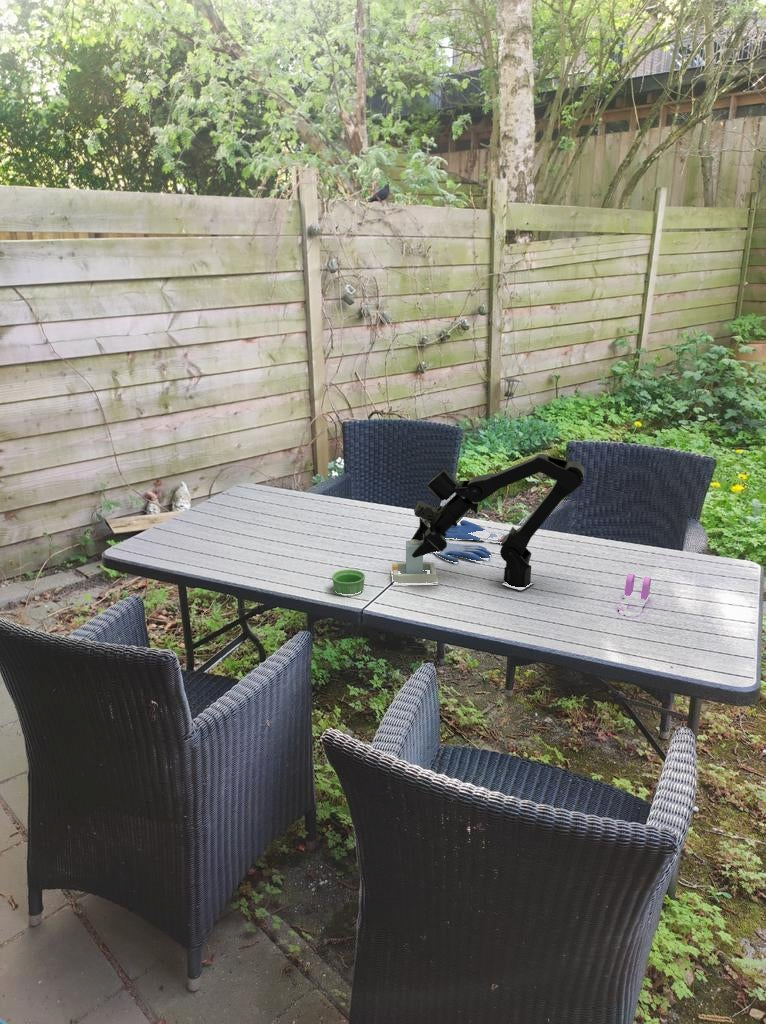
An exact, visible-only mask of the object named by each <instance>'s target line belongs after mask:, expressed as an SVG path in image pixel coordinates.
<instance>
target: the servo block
mask: <svg viewBox="0 0 766 1024" xmlns="http://www.w3.org/2000/svg"><path fill="white" fill-rule="evenodd" d="M421 542H422V541H419V540H416V539H413V540H405V562H406V571H400V573H401V574H427V571H423V562H424V555H422V556H419V557H416V558H414V557H413V556H412V554H413V552H414V551H415V550H416V549H417V547H418V546H419V545H420V544H421Z"/></svg>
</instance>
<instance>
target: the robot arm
mask: <svg viewBox="0 0 766 1024" xmlns="http://www.w3.org/2000/svg"><path fill="white" fill-rule="evenodd" d="M538 473H541V474H543V475H546V476H547V477H549V478H551V479H552V480H554V483H553V486H552V488H550V490H549V491H548V493H547V494H546V495H545V497H544V498H543V499H542V500H541V501H540V502H539V504H538V505H537V507H536V508H535V509H534V510H533V511H532V512H531V514H530V515H529V516H528V517H527V519H525V521H524V522H523V524H522V525H521V526H520V527H518V528H517V529H516V528H515V527H513V526H512V527H511V528H510V530H509V532H508V533H507V534H505V535H506V536H504V538H503V541H502V543H501V545H500V546H501V548H500V551H499V553H500V558H501V559H502V560H503V561H505V567H504V569H503V570H504V571H503V572H504V573H503V582H507V583H508V584H509V585H511V586H515V587H526V586H527V585H529V584H530V582H532V581H531V579H532V577H531V576H532V565H531V564H530V561H531V557H532V555H533V554H532V552H531V551H530V550H529V549H528V548H527V546H528V544H529V543H530V541H531V538H532V537H533V536H534V535H535V534H536V532H538V530H539V529H540V527H542V525H543V524H544V523H545V521H546V520H547V519H548V518H549V516H550V515H551V514H552V513H553V512H554V510H555V509H556V508H557V506H558V505H559V504H560V503H561V501H563V500H564V499H565V498H567V496H569V495H571V494H572V493H573V492H575V490H577V489H578V488H579V487H580V486H582V484H583V481H584V478H585V468H584V466H583V465H582V464H581V462H578V461H576V460H571V461H568V460H565V459H562V458H557V457H553V456H549V455H547V454H545V453H539V454H537V455H536V456H534V457H531V458H529V459H527V460H525V461H522V462H519V463H517V464H515V465H512V466H510V467H508V468H505V469H503V470H501V471H499V472H495V473H487V474H486V473H485V474H482V475H478V476H475V477H472V478H471V479H468V480H466V479H465V480H459V481H458V482H457V481H456V479H454V478H453V477H452V475H451V474H450V473H449V471H448V470H447V469H443V470H442V471H441V472H440V473H439V474H437V475H436V476H434V478H433V479H430V481H429V482H428V483H427V485H426V487H427V488H428V489H429V491H431V493H433V494H434V495H435V496H436V497H437V498H438V500H439V501H447V500H448V499H449V500H448V501H447V502H446V503H445V504H444V505H439V506H437V507H434V506H433V505H431V504H428V503H426V502H424V501H421V500H418V501H417V504H416V505H415V507H414V509H413V512H414V516H415V517H418V519H419V526H418V528H417V529H416V531H415V533H414V535H413V536H412V538H411V540H413V539H416V540H419V541H422V540H423V541H422V542H421V544H420V545H419V546H418V547H417V549H416V550H415V551H414V552H413V554H412V556H413V557H414V558H416V557H419V556H422V555H423V556H426V555H429V554H433V552H436V551H438V552H439V551H441V552H442V551H443V550H444V549H445V548H446V547H447V542H448V541H447V540H446V539H445V536H446V535H447V534H446V532H447V531H448V530H449V529H450V528H451V527H452V526H454V527H456V526H457V525H459V524H458V521H459V522H460V521H461V519H462V518H463V517H464V516H465V515H466V514H467V513H468V512H469V511H470V510H471V511H473V512H474V514H478V508H479V503H481V502H482V501H484V500H486V499H487V498H488V497H490V496H492V495H493V494H495V492H496V491H498V490H500V489H502V488H504V487H507V486H509V485H511V484H514V483H516V482H519V481H521V480H524V479H526V478H529V477H531V476H534V475H536V474H538ZM451 496H452V498H451Z"/></svg>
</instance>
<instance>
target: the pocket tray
mask: <svg viewBox="0 0 766 1024" xmlns="http://www.w3.org/2000/svg"><path fill="white" fill-rule="evenodd" d="M391 564H392V565H391V566H392V567H391V569H392V571H393V580H394V582H398V583H426V582H427V583H432V582H437V578H438V576H437V575H438V573H437V570H436V567H435V563H434V562H430V561H423V570H424V571H425V570H430V574H398V571H406V561H400V562H393V563H391Z"/></svg>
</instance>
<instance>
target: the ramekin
mask: <svg viewBox="0 0 766 1024" xmlns="http://www.w3.org/2000/svg"><path fill="white" fill-rule="evenodd" d="M331 580H332V584H333V591H334V590H335V591H336V592H337V593H342V594H355V593H358V592H360V591H362V590H363V591H364V589H363V588H364V585H365V580H366V575H365V573H364V572H363V571H360V570H357V569H342V570H338V571H336V572H334V573H333V574H331ZM335 591H334V592H335ZM337 593H336V594H337Z"/></svg>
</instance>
